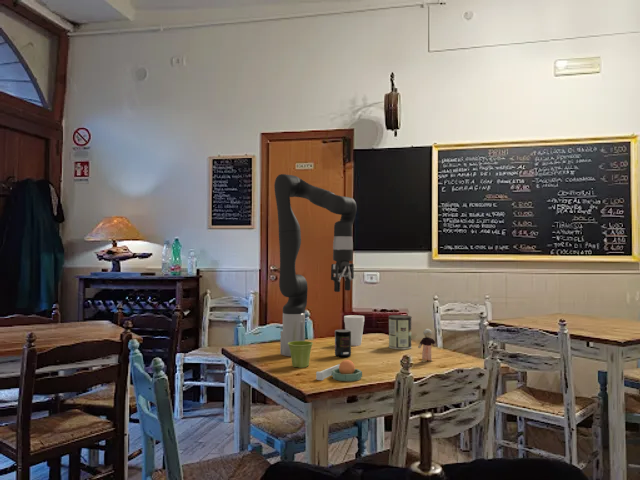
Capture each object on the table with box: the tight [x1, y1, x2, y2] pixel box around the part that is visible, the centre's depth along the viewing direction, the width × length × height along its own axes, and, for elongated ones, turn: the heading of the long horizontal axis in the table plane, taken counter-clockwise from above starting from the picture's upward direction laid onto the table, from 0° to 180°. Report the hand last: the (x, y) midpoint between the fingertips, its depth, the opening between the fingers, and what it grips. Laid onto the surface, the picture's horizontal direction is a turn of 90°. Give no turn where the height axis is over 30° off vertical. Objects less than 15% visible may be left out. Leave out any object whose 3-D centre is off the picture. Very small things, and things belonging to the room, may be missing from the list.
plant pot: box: [288, 340, 314, 369], centre depth 189 cm, size 9×9×9 cm
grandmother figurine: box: [417, 328, 437, 363], centre depth 199 cm, size 8×4×13 cm, turn 118°
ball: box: [339, 359, 356, 374], centre depth 171 cm, size 5×5×5 cm
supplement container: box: [334, 329, 352, 359], centre depth 208 cm, size 7×7×10 cm
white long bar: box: [315, 363, 340, 381], centre depth 176 cm, size 2×19×2 cm, turn 150°
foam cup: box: [343, 314, 365, 347], centre depth 235 cm, size 10×9×13 cm
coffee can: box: [388, 314, 413, 350], centre depth 228 cm, size 10×10×14 cm
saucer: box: [331, 368, 363, 382], centre depth 171 cm, size 10×10×2 cm
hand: (342, 291), depth 193 cm, fingers open, 8 cm apart
